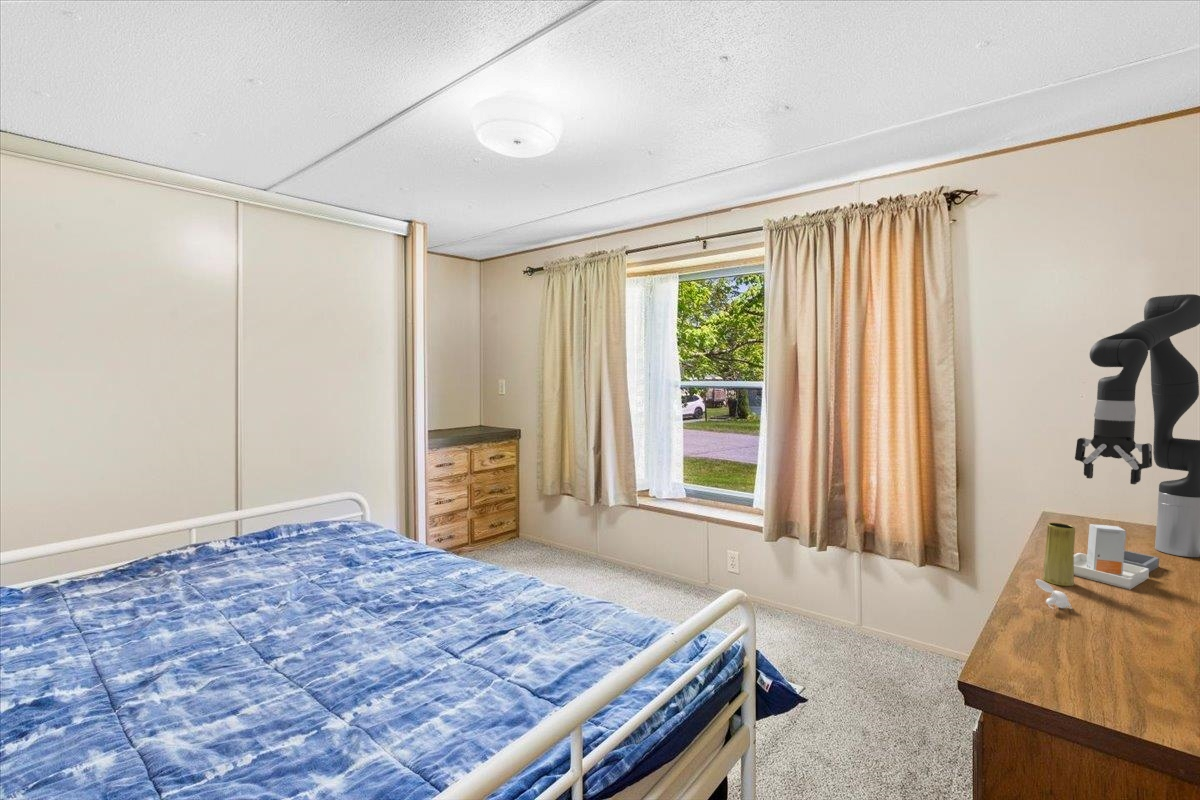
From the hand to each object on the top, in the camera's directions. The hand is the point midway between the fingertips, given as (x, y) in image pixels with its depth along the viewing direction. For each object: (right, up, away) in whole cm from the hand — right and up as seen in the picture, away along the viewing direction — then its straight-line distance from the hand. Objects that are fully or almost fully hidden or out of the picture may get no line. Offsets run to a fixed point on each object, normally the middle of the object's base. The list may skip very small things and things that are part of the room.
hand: (1110, 481), depth 139 cm
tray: (-1, -24, +1) cm, 24 cm away
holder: (+12, -24, +9) cm, 28 cm away
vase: (-17, -25, -4) cm, 30 cm away
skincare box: (-1, -24, +1) cm, 24 cm away
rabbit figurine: (-31, -26, -19) cm, 44 cm away
